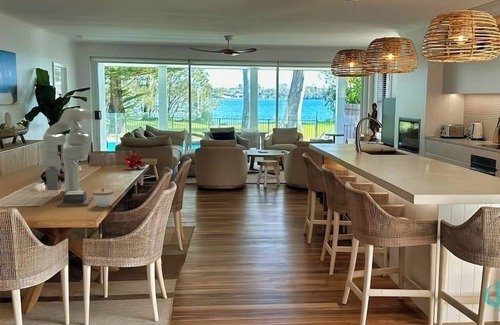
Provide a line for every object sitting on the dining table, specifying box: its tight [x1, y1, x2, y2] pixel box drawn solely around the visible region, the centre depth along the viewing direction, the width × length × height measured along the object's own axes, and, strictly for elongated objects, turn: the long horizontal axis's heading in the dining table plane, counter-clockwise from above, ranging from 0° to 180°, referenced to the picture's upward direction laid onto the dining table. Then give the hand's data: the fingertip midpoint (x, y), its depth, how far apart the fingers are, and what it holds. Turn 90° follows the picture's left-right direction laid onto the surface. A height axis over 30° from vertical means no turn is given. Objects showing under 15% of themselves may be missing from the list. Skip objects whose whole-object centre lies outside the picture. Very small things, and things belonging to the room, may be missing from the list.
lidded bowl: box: [92, 187, 114, 208], centre depth 298 cm, size 13×13×11 cm
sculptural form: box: [122, 150, 147, 170], centre depth 453 cm, size 20×24×21 cm
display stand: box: [56, 190, 93, 208], centre depth 305 cm, size 20×18×7 cm
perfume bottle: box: [45, 166, 62, 191], centre depth 316 cm, size 7×7×18 cm
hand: (53, 180), depth 317 cm, fingers closed on perfume bottle, 5 cm apart
